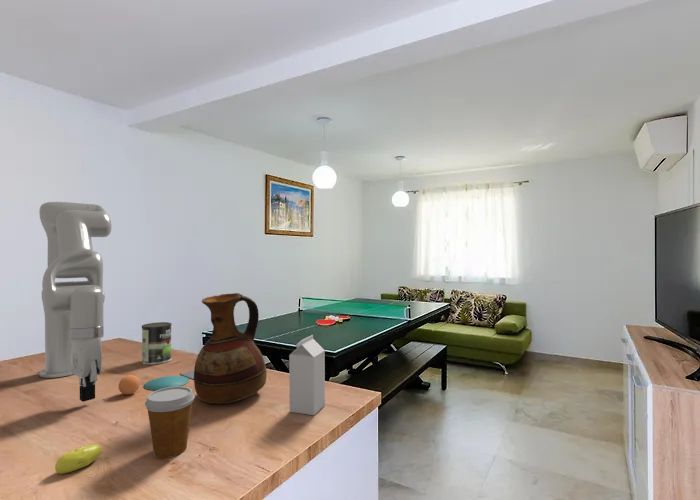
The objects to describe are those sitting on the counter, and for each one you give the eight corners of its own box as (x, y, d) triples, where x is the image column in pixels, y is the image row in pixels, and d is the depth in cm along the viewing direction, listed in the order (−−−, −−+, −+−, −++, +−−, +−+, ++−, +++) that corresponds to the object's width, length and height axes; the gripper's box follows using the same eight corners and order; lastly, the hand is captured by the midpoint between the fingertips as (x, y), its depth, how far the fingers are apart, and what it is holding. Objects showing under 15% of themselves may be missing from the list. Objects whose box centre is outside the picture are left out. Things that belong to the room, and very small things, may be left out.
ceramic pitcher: (182, 397, 111) (181, 293, 111) (243, 379, 126) (243, 288, 126) (215, 417, 98) (215, 299, 98) (280, 395, 112) (279, 292, 112)
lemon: (50, 473, 73) (50, 453, 73) (97, 455, 80) (97, 436, 80) (59, 481, 71) (59, 459, 71) (106, 461, 77) (106, 442, 77)
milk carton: (325, 405, 104) (324, 335, 105) (314, 416, 98) (313, 341, 98) (301, 402, 107) (301, 333, 107) (289, 412, 100) (289, 339, 100)
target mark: (136, 384, 122) (136, 383, 122) (176, 373, 132) (176, 373, 132) (155, 393, 114) (155, 392, 114) (196, 381, 124) (196, 381, 124)
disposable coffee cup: (156, 440, 86) (156, 386, 86) (200, 438, 86) (200, 384, 86) (136, 463, 76) (136, 403, 76) (186, 461, 77) (185, 401, 77)
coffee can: (177, 358, 152) (177, 322, 152) (159, 365, 142) (159, 327, 142) (154, 356, 154) (154, 321, 154) (135, 364, 144) (135, 326, 144)
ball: (135, 388, 118) (117, 396, 113) (132, 371, 117) (113, 378, 113) (145, 390, 115) (126, 399, 110) (141, 372, 114) (122, 380, 110)
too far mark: (180, 374, 132) (180, 373, 132) (206, 367, 139) (206, 366, 139) (195, 380, 125) (195, 379, 125) (222, 372, 133) (222, 372, 133)
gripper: (62, 331, 107) (62, 397, 107) (80, 339, 98) (81, 411, 98) (92, 327, 113) (93, 389, 113) (113, 334, 104) (113, 401, 104)
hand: (87, 399), depth 106 cm, fingers closed
